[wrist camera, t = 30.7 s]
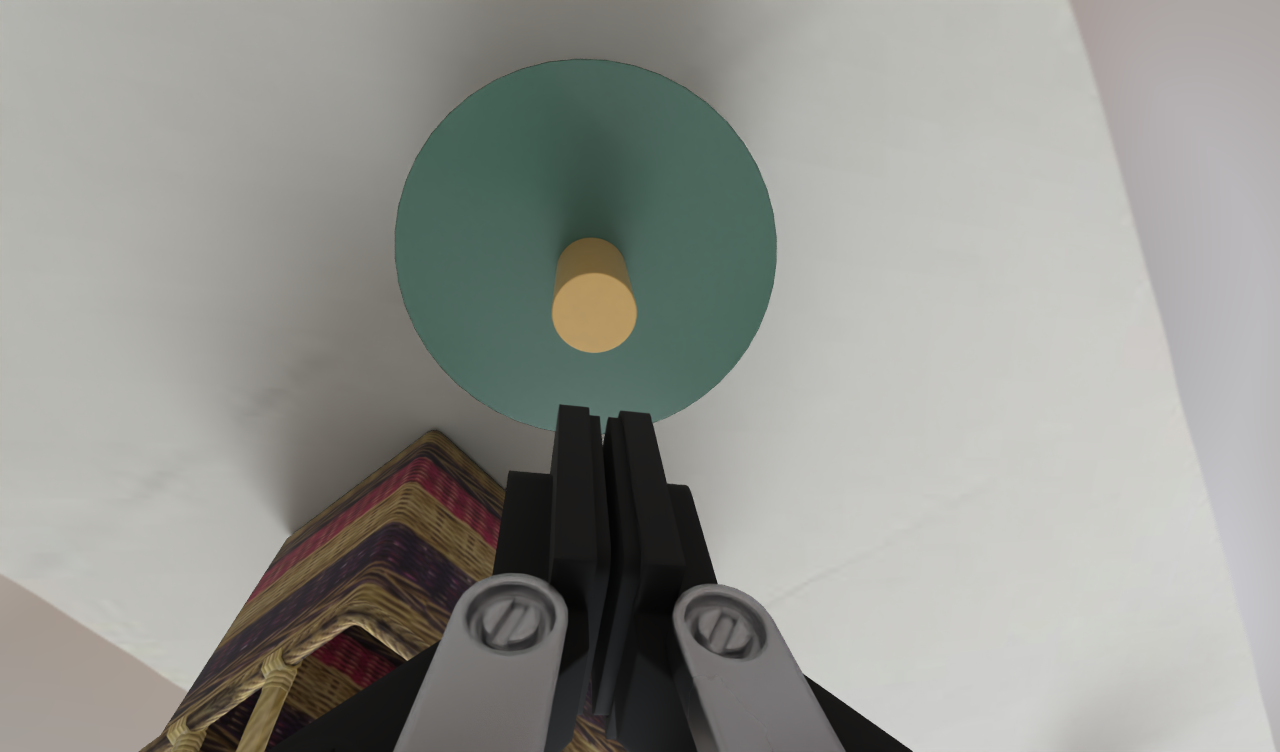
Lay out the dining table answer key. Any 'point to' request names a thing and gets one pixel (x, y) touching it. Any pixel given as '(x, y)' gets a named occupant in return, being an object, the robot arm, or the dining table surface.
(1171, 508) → the dining table surface
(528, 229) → the lid
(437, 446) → the basket
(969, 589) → the dining table surface
